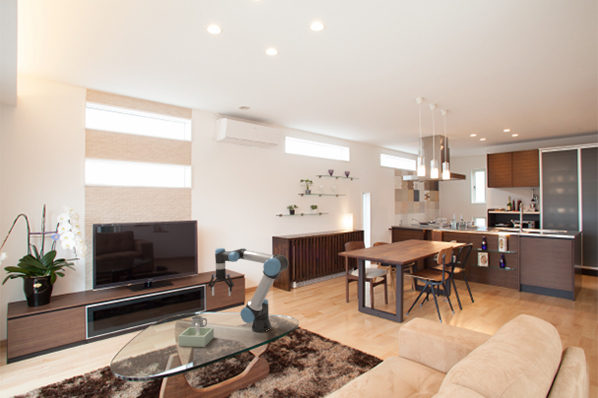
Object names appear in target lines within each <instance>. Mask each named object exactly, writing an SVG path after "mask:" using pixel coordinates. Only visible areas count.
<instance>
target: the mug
mask: <svg viewBox="0 0 598 398" xmlns="http://www.w3.org/2000/svg"><path fill="white" fill-rule="evenodd" d="M190 319H191V321H190V322H191V326H190V327H195V324H196V323H200V327H204V328H206V326H207V325H208V324H207V323H208V319H207V318H206V317H203V315H195V316H192V317H191V318H190ZM204 321H205V323H204Z"/></svg>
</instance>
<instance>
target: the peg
mask: <svg viewBox="0 0 598 398" xmlns="http://www.w3.org/2000/svg"><path fill="white" fill-rule="evenodd" d="M195 336H200V323H196V324H195Z"/></svg>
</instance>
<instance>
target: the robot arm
mask: <svg viewBox="0 0 598 398" xmlns="http://www.w3.org/2000/svg"><path fill="white" fill-rule="evenodd" d="M214 253H215V254H214V255H215V256H214V258H215V274H211V279H210V280H209V283H208V287H210V292H211V296H212V297H213V296H215V284H216V283H217V282H218V281H220V282H221V281H223V282H225V284H226V286H228V297H231V295H232V290H233V287H234V286H235V284H234V282H233V280H232V278H231V275H230V274H227V273H226V262H232V263H233V262H234V263H235V262H237V261H239V260H247V261H249V262H250V261H251V262H254V263H260V264H263V271H262V273H263V275H262V277H261V279H260V282H259V283H258V285H257V287H256V289H255V292H254V293H253V295H252V298H251V299H249V300H248V301H247V303H246V305H245V306H244V307H243V308H242V309H241V310H240V313H239V315H240V317H241V319H242V322H244V323H246V324H251V323H252V324H251V331H252V332H255V333H264V332H263V331H266V330H268V329H270V328H271V329H272V323H271V321H270V316H269V300H268V299H267V298H266V297H267V295H268V293H269V292H270V289H271V287H272V285H273V283H274V281H275V280H278V278H279V276H280V274H281V273H282V272H284V271H286V270H287V269H288V266H289V259H288V257H287V256H285V255H282V254H276V253H275V254H269V253H264V252H257V251H254V250H248V249H247V248H238V249H235V250H232V251H226V249H225V248H224V247H219V248H215V251H214ZM271 329H270V330H271ZM266 332H267V331H266Z"/></svg>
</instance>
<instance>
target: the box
mask: <svg viewBox="0 0 598 398" xmlns="http://www.w3.org/2000/svg"><path fill="white" fill-rule="evenodd" d="M214 330H215V328H214V327H200V336H195V327H192V326H189V327H188V328H187V329H185V330H184V331H182V332H181V333H179V335H178V337H177V338H178V347H197V348H198V347H199V348H205V347H206V346H207V345H208V344H209V343H210V342H211V341H212V340H213V339H214V338H215V332H214Z"/></svg>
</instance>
